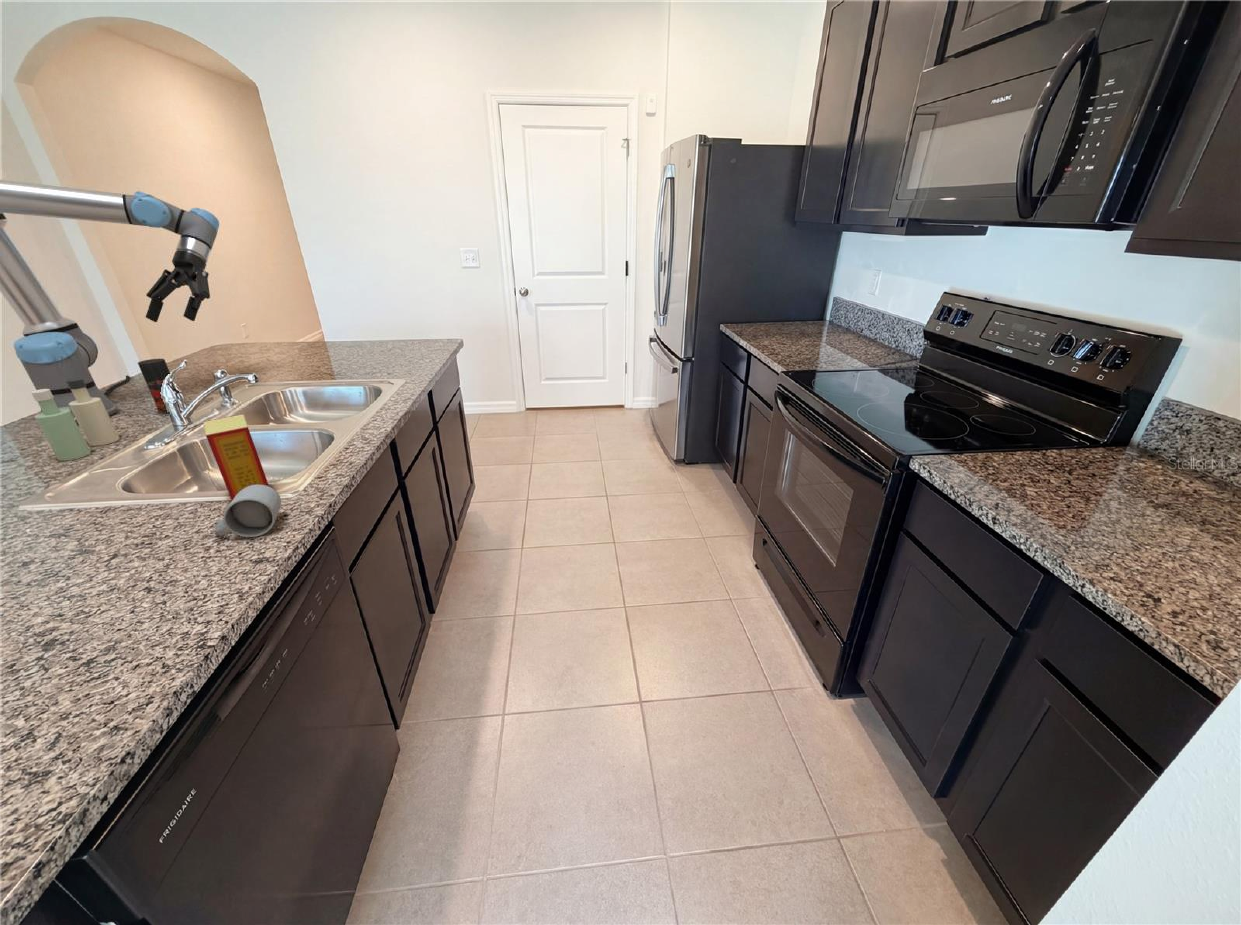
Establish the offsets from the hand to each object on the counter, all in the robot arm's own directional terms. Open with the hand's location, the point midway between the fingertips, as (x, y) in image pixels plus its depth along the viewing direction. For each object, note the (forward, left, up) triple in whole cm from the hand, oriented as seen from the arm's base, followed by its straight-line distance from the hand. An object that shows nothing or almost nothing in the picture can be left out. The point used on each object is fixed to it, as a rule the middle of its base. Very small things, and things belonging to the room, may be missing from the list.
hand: (169, 319), depth 148 cm
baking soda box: (+75, +32, -26) cm, 86 cm away
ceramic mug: (+90, +36, -26) cm, 100 cm away
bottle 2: (+29, -12, -25) cm, 41 cm away
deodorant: (+7, -5, -25) cm, 27 cm away
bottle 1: (+38, -14, -25) cm, 48 cm away
